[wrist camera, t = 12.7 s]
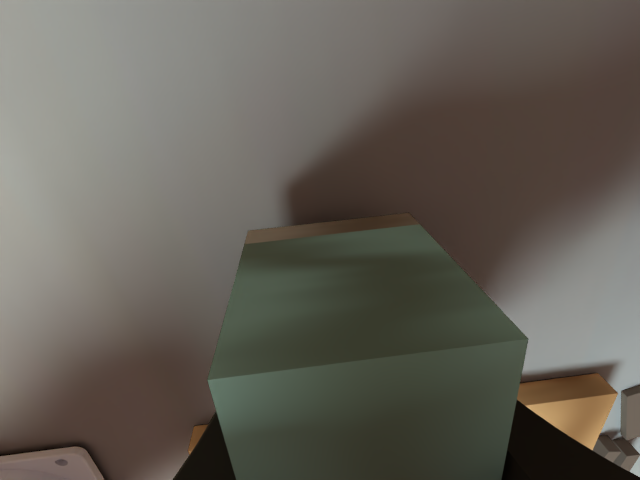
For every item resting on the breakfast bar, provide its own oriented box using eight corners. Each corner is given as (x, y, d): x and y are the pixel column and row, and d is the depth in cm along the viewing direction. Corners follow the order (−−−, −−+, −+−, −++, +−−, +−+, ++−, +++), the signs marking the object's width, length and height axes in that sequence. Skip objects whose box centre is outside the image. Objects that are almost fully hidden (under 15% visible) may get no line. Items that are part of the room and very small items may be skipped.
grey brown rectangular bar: (575, 494, 21) (587, 493, 21) (608, 451, 19) (621, 451, 19) (561, 473, 22) (572, 473, 22) (591, 431, 20) (603, 431, 21)
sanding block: (285, 433, 14) (283, 645, 9) (248, 230, 11) (207, 380, 5) (405, 416, 15) (475, 614, 9) (408, 212, 11) (528, 338, 6)
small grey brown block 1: (647, 433, 20) (635, 421, 21) (650, 389, 18) (637, 376, 19) (626, 440, 20) (614, 427, 21) (627, 396, 18) (614, 384, 19)
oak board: (233, 533, 21) (230, 557, 20) (194, 426, 17) (187, 450, 16) (552, 486, 22) (566, 508, 21) (597, 373, 18) (617, 393, 17)
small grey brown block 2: (601, 496, 22) (614, 494, 22) (627, 456, 20) (640, 454, 20) (586, 475, 23) (598, 474, 23) (609, 435, 21) (621, 434, 21)
